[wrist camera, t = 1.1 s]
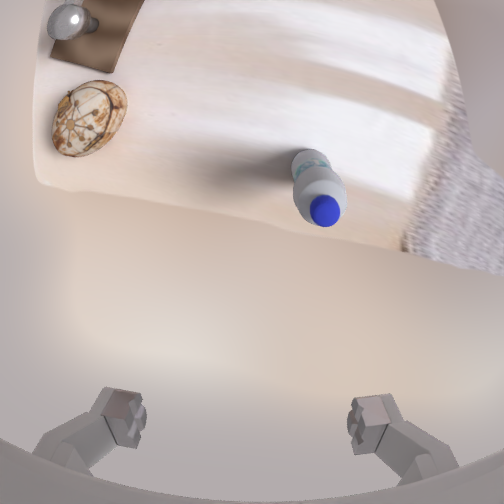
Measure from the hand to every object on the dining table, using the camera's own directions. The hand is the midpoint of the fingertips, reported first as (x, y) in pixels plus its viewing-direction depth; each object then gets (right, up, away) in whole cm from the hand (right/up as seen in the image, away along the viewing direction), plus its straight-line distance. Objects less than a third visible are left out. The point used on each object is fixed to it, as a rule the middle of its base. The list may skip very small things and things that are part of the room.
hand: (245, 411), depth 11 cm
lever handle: (-26, +44, +20) cm, 55 cm away
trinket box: (-28, +30, +36) cm, 55 cm away
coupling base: (-27, +45, +27) cm, 59 cm away
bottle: (+10, +20, +39) cm, 45 cm away
